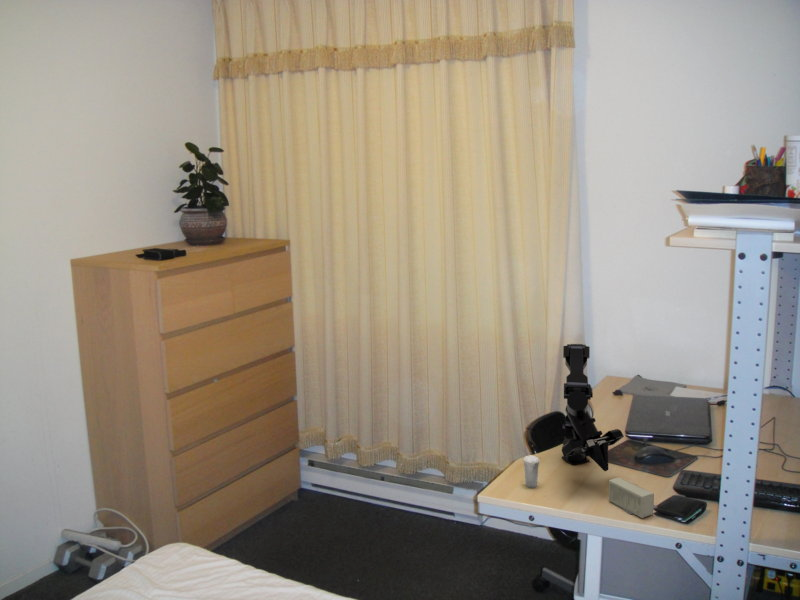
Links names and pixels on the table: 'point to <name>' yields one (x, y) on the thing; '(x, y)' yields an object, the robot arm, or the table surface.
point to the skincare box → (631, 497)
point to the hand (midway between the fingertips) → (606, 470)
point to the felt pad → (629, 511)
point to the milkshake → (531, 470)
